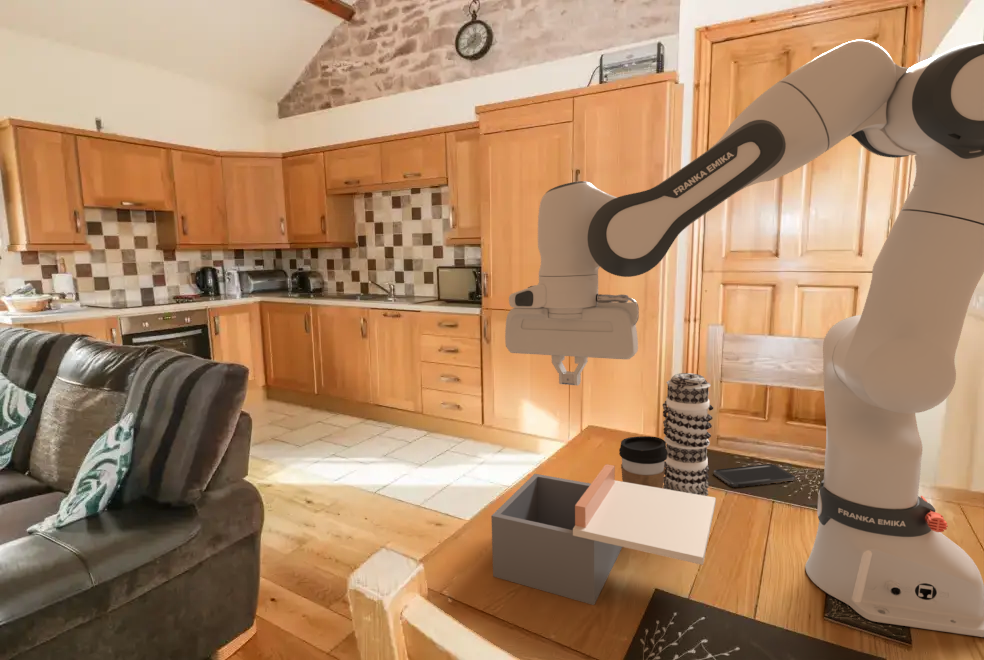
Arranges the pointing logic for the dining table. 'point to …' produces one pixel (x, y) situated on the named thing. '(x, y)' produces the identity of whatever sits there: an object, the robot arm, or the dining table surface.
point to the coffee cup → (643, 460)
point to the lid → (645, 518)
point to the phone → (753, 475)
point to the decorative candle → (687, 434)
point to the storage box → (549, 541)
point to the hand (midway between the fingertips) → (569, 384)
